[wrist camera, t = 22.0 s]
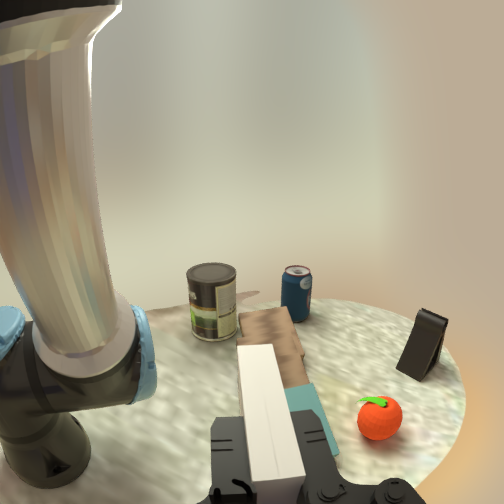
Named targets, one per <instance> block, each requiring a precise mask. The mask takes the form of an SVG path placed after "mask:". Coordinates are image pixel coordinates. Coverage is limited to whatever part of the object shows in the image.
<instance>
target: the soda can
mask: <svg viewBox="0 0 504 504" xmlns="http://www.w3.org/2000/svg"><path fill="white" fill-rule="evenodd" d="M311 289H312V275H311V273H310V269H309V268H307V267H304V266H299V265H297V266H296V265H294V266H289V267H287V268H286V269H285V272H284V274H283V275H282V291H281V307H284V306H286V307H287V309H288V312H289V314H290V317H291V320H292V322H300V321H303V320H305V319H306V317H307V316H308V315H309V312H310V301H311Z"/></svg>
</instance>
